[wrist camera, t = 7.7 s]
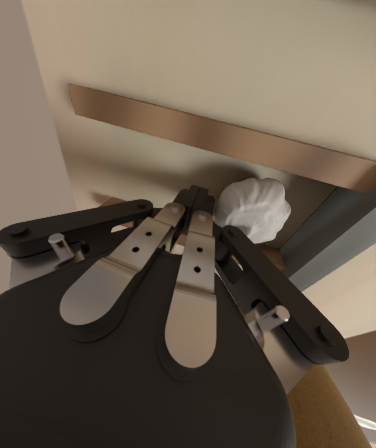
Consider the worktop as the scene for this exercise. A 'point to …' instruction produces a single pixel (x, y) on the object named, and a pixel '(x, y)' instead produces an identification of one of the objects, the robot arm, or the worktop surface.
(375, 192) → the guide track
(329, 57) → the worktop surface
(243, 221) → the garlic
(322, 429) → the plant pot
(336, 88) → the worktop surface
